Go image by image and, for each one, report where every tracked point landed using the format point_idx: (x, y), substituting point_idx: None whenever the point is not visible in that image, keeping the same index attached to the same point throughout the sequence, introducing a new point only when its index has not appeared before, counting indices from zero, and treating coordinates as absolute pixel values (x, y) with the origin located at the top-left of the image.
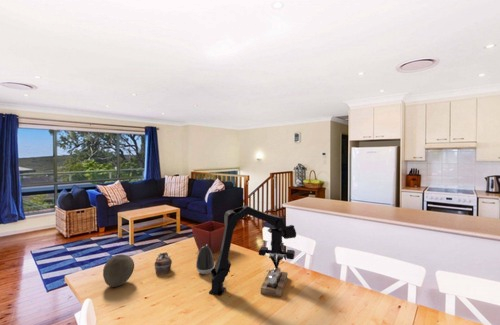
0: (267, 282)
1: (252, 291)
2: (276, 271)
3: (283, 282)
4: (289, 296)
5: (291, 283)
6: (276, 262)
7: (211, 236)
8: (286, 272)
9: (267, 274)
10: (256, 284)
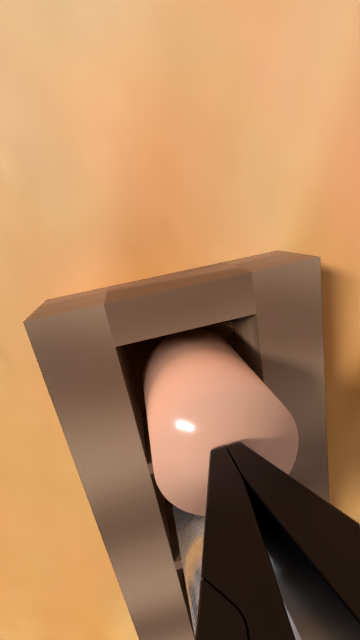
0: (170, 585)
1: (69, 618)
2: (297, 631)
3: (323, 496)
4: (354, 512)
5: (342, 340)
6: (266, 565)
7: None
8: (309, 264)
9: (77, 456)
10: (31, 532)
